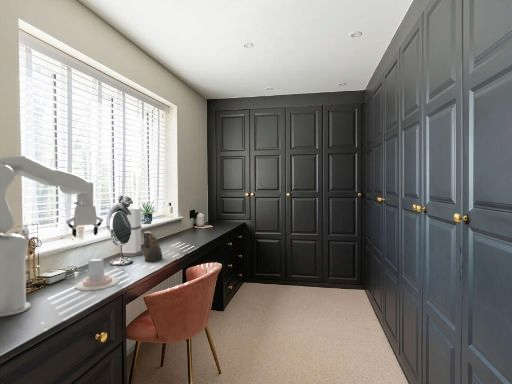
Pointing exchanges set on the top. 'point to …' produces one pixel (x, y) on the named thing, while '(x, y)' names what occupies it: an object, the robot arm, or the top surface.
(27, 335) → the top surface
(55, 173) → the robot arm
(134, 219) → the white tall boxy piece
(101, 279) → the skincare box
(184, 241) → the top surface
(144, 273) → the top surface
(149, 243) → the rock
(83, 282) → the vanity tray
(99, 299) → the top surface
